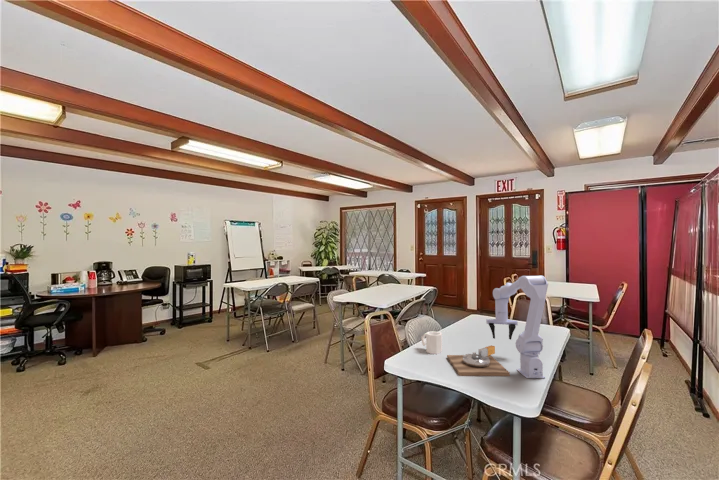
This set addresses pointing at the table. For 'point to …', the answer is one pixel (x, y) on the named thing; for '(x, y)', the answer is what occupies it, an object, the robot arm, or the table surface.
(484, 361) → the silver orange handled piece
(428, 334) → the mug
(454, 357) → the base plate
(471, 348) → the table surface
